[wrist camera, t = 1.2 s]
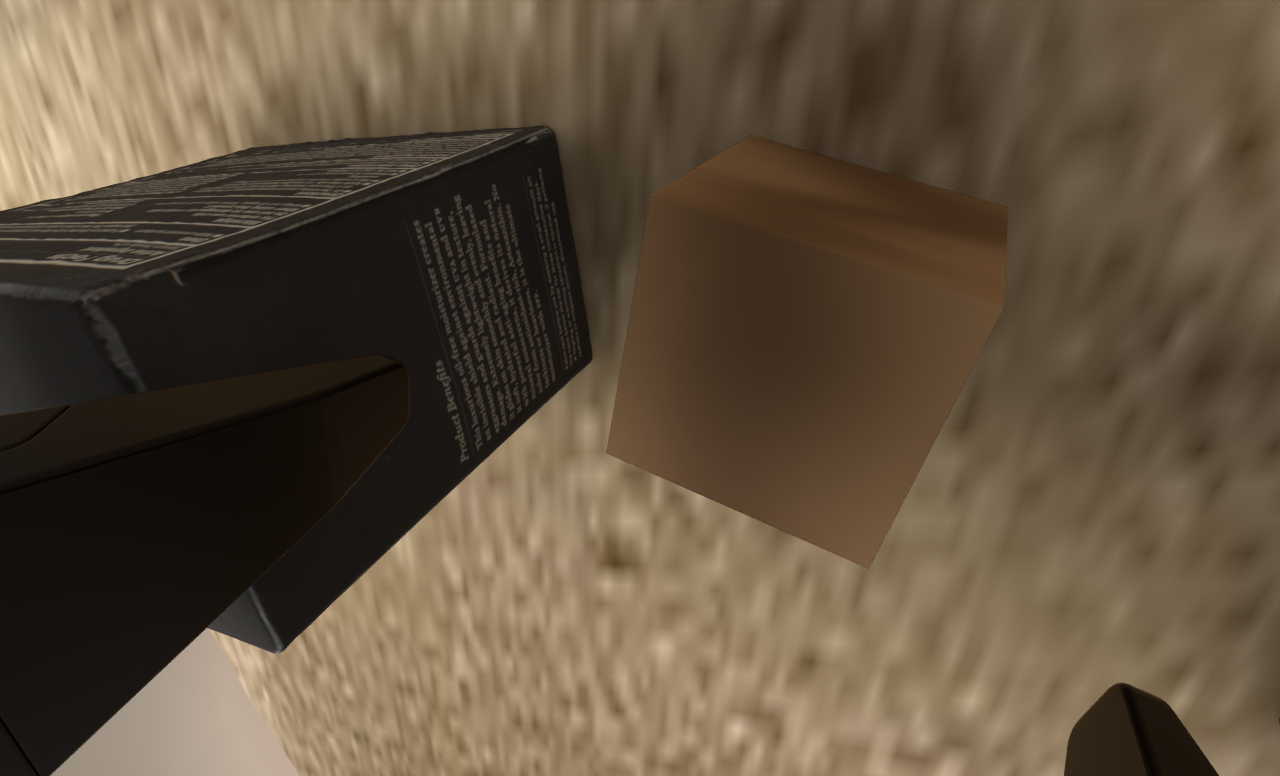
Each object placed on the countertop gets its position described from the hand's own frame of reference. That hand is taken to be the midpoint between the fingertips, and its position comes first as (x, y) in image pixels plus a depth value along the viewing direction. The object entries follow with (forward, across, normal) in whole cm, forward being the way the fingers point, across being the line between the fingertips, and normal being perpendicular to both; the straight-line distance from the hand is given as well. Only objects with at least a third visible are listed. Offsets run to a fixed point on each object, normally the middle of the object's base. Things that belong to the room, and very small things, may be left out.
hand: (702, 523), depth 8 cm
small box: (+8, +11, +3) cm, 14 cm away
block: (+8, 0, 0) cm, 8 cm away
